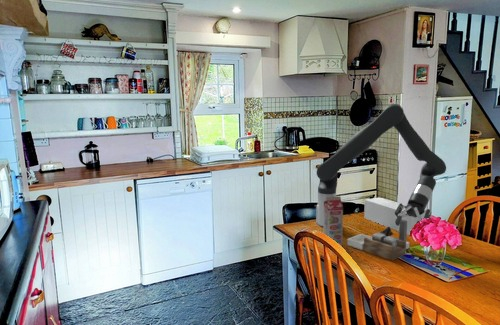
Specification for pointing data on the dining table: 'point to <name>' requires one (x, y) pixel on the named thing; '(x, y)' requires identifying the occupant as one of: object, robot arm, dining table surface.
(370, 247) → the wooden box
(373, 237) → the steel block
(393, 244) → the steel block
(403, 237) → the scraper
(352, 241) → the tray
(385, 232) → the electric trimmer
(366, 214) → the long white block
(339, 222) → the juice carton
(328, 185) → the robot arm
